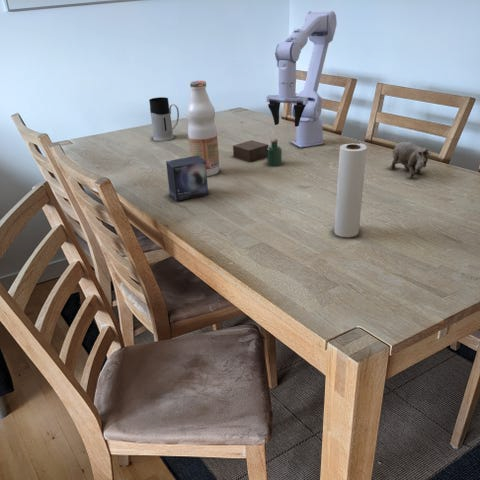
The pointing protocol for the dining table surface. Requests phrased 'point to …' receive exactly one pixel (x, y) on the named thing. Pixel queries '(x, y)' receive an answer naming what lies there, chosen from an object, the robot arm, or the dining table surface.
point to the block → (250, 150)
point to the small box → (187, 177)
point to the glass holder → (162, 118)
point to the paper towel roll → (349, 189)
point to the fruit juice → (202, 127)
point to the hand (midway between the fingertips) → (286, 125)
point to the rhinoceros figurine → (410, 157)
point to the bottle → (274, 154)
